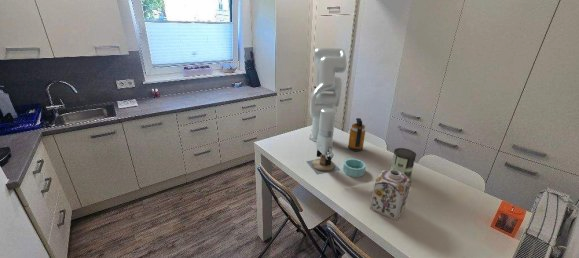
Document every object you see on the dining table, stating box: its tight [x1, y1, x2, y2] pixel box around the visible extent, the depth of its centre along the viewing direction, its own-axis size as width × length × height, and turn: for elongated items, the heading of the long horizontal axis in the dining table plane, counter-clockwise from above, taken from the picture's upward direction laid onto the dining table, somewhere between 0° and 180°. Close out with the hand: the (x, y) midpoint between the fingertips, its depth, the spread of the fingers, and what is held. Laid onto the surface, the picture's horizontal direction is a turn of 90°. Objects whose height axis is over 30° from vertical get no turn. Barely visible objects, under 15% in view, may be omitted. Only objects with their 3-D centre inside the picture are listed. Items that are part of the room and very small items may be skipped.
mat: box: [306, 159, 341, 175], centre depth 138 cm, size 14×14×1 cm
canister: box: [347, 117, 366, 152], centre depth 154 cm, size 9×11×20 cm
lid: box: [312, 154, 335, 171], centre depth 136 cm, size 12×12×6 cm
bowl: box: [342, 158, 366, 178], centre depth 132 cm, size 11×11×5 cm
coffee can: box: [390, 147, 417, 180], centre depth 128 cm, size 10×10×14 cm
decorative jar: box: [369, 169, 412, 222], centre depth 104 cm, size 12×12×18 cm
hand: (323, 160), depth 136 cm, fingers open, 9 cm apart
